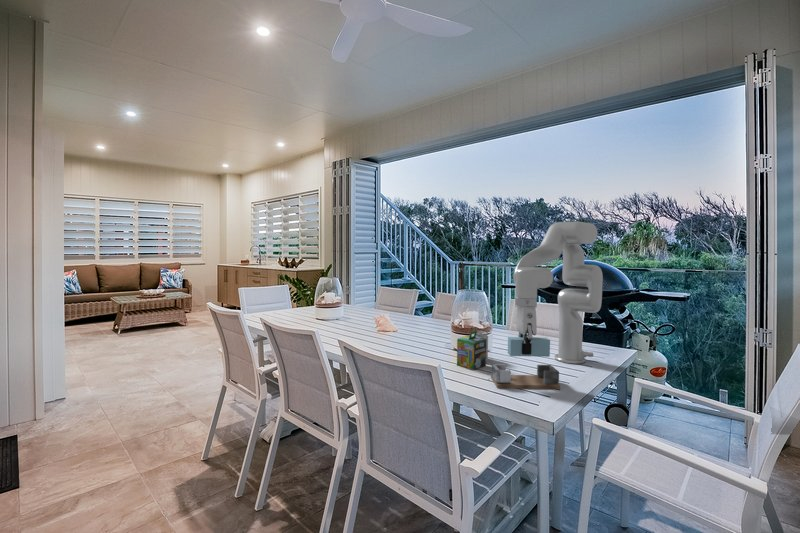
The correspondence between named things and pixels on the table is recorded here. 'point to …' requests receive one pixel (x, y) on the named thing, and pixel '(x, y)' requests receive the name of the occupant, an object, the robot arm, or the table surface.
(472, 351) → the chalk box
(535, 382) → the board
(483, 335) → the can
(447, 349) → the table surface
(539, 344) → the grey-blue block
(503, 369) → the end cap
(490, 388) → the table surface
